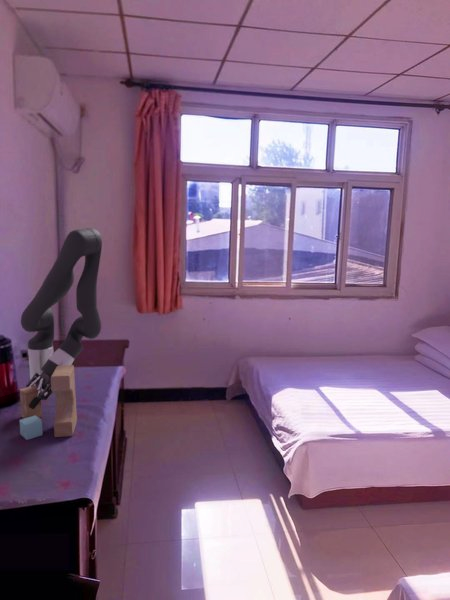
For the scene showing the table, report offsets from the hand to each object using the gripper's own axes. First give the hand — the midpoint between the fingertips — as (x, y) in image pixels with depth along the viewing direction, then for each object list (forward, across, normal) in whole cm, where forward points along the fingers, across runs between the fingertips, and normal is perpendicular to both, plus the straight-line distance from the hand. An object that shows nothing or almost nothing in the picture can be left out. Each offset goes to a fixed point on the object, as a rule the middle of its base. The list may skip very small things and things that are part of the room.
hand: (26, 404), depth 151 cm
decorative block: (-1, +17, +8) cm, 19 cm away
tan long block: (+3, 0, +5) cm, 5 cm away
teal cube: (+6, +13, +1) cm, 14 cm away
